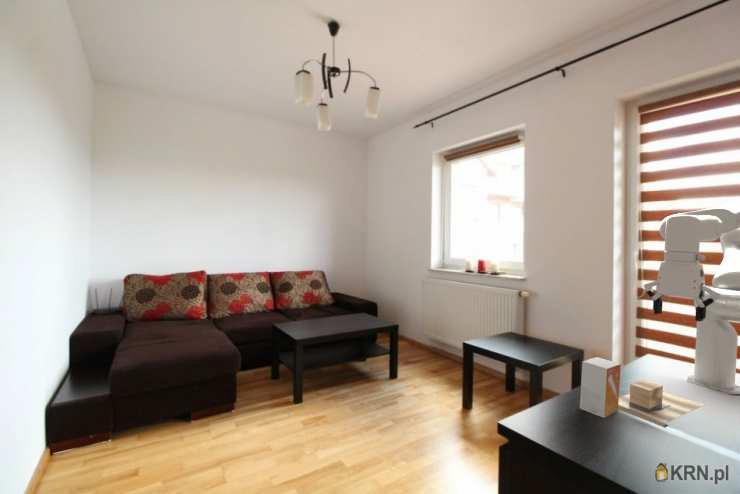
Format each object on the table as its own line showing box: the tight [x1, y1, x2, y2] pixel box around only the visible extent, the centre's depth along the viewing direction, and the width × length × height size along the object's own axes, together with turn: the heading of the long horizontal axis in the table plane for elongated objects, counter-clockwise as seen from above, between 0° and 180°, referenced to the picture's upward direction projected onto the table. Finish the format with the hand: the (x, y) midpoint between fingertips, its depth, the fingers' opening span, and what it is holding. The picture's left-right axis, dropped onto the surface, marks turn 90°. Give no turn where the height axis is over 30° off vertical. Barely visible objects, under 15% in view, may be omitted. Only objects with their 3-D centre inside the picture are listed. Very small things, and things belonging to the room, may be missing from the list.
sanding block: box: [629, 379, 664, 413], centre depth 96 cm, size 7×4×6 cm, turn 118°
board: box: [618, 390, 705, 428], centre depth 99 cm, size 23×13×1 cm, turn 119°
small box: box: [579, 356, 622, 419], centre depth 96 cm, size 8×6×13 cm
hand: (677, 317), depth 103 cm, fingers open, 9 cm apart
